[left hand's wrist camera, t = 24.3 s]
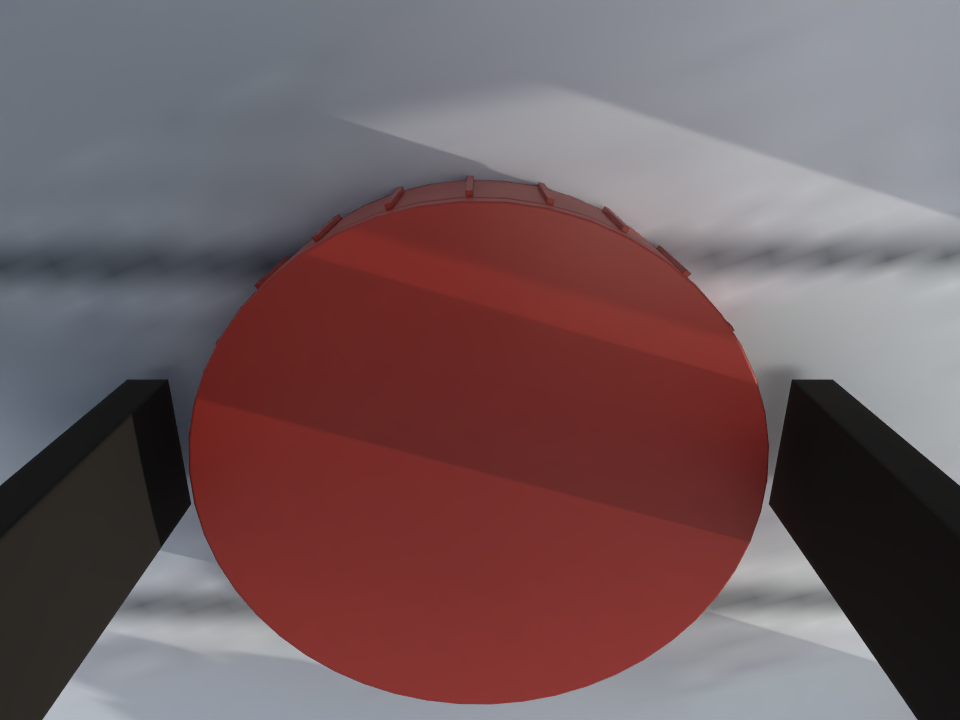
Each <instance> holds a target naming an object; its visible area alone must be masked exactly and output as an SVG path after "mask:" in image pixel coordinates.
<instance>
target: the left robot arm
mask: <svg viewBox="0 0 960 720" xmlns="http://www.w3.org/2000/svg"><path fill="white" fill-rule="evenodd" d="M190 505H191V501H190V496H189V490H188V485H187V479H186V474H185V469H184V463H183V458H182V452H181V447H180V442H179V436H178V431H177V425H176V420H175V415H174V409H173V404H172V398H171V393H170V388H169V382H168V380H126V381H125V382H124V383H123V384H122V385H120V386H119V387H118V388H117V389H116V390H114V391H113V392H112V393H111V394H110V395H108V396H107V397H106V398H105V399H104V400H102V401H101V402H100V403H99V404H98V405H96V406H95V407H94V408H93V409H92V410H90V411H89V412H88V413H87V414H86V415H84V416H83V417H82V418H81V419H80V420H78V421H77V422H76V423H75V424H74V425H72V426H71V427H70V428H69V429H68V430H66V431H65V432H64V433H63V434H62V435H60V436H59V437H58V438H57V439H56V440H54V441H53V442H52V443H51V444H50V445H48V446H47V447H46V448H45V449H44V450H43V451H41V452H40V453H39V454H38V455H37V456H35V457H34V458H33V459H32V460H31V461H29V462H28V463H27V464H26V465H25V466H23V467H22V468H21V469H20V470H19V471H17V472H16V473H15V474H14V475H13V476H11V477H10V478H9V479H8V480H7V481H5V482H4V483H3V484H2V485H1V486H0V720H42V719H43V718H44V717H45V715H46V714H47V712H48V711H49V709H50V708H51V706H52V705H53V704H54V702H55V701H56V699H57V698H58V696H59V695H60V693H61V692H62V690H63V689H64V688H65V686H66V685H67V683H68V682H69V680H70V679H71V677H72V676H73V675H74V673H75V672H76V670H77V669H78V667H79V666H80V664H81V663H82V661H83V660H84V659H85V657H86V656H87V654H88V653H89V651H90V650H91V648H92V647H93V646H94V644H95V643H96V641H97V640H98V638H99V637H100V635H101V634H102V632H103V631H104V630H105V628H106V627H107V625H108V624H109V622H110V621H111V619H112V618H113V617H114V615H115V614H116V612H117V611H118V609H119V608H120V606H121V605H122V603H123V602H124V601H125V599H126V598H127V596H128V595H129V593H130V592H131V590H132V589H133V587H134V586H135V585H136V583H137V582H138V580H139V579H140V577H141V576H142V574H143V573H144V572H145V570H146V569H147V567H148V566H149V564H150V563H151V561H152V560H153V558H154V557H155V556H156V554H157V553H158V551H159V550H160V548H161V547H162V545H163V544H164V543H165V541H166V540H167V538H168V537H169V535H170V534H171V532H172V531H173V529H174V528H175V527H176V525H177V524H178V522H179V521H180V519H181V518H182V516H183V515H184V514H185V512H186V511H187V509H188V508H189V506H190ZM769 505H770V506H771V508H772V509H773V511H774V512H775V514H776V515H777V516H778V518H779V519H780V521H781V522H782V524H783V525H784V527H785V528H786V530H787V531H788V532H789V534H790V535H791V537H792V538H793V540H794V541H795V543H796V544H797V545H798V547H799V548H800V550H801V551H802V553H803V554H804V556H805V557H806V559H807V560H808V561H809V563H810V564H811V566H812V567H813V569H814V570H815V572H816V573H817V574H818V576H819V577H820V579H821V580H822V582H823V583H824V585H825V586H826V588H827V589H828V590H829V592H830V593H831V595H832V596H833V598H834V599H835V601H836V602H837V603H838V605H839V606H840V608H841V609H842V611H843V612H844V614H845V615H846V617H847V618H848V619H849V621H850V622H851V624H852V625H853V627H854V628H855V630H856V631H857V632H858V634H859V635H860V637H861V638H862V640H863V641H864V643H865V644H866V646H867V647H868V648H869V650H870V651H871V653H872V654H873V656H874V657H875V659H876V660H877V661H878V663H879V664H880V666H881V667H882V669H883V670H884V672H885V673H886V675H887V676H888V677H889V679H890V680H891V682H892V683H893V685H894V686H895V688H896V689H897V690H898V692H899V693H900V695H901V696H902V698H903V699H904V701H905V702H906V704H907V705H908V706H909V708H910V709H911V711H912V712H913V714H914V715H915V717H916V718H917V719H918V720H960V486H959V485H958V484H957V483H956V482H955V481H953V480H952V479H951V478H950V477H949V476H947V475H946V474H945V473H944V472H943V471H941V470H940V469H939V468H938V467H937V466H935V465H934V464H933V463H932V462H931V461H929V460H928V459H927V458H926V457H925V456H923V455H922V454H921V453H920V452H919V451H917V450H916V449H915V448H914V447H913V446H911V445H910V444H909V443H908V442H907V441H905V440H904V439H903V438H902V437H901V436H900V435H898V434H897V433H896V432H895V431H894V430H892V429H891V428H890V427H889V426H888V425H886V424H885V423H884V422H883V421H882V420H880V419H879V418H878V417H877V416H876V415H874V414H873V413H872V412H871V411H870V410H868V409H867V408H866V407H865V406H864V405H862V404H861V403H860V402H859V401H858V400H856V399H855V398H854V397H853V396H852V395H850V394H849V393H848V392H847V391H846V390H844V389H843V388H842V387H841V386H840V385H838V384H837V383H836V382H835V381H834V380H792V382H791V388H790V393H789V398H788V404H787V409H786V415H785V420H784V425H783V431H782V436H781V441H780V447H779V452H778V458H777V463H776V468H775V474H774V479H773V485H772V490H771V495H770V501H769Z"/></svg>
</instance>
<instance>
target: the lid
mask: <svg viewBox="0 0 960 720" xmlns="http://www.w3.org/2000/svg"><path fill="white" fill-rule="evenodd" d="M690 274H691V273H690V272H689V271H688V270H687V269H686V268H685V267H684V266H682V265H681V264H680V263H679V262H678V261H677V260H676V259H675V258H673V257H672V256H671V255H670V254H669V253H668V252H667V251H666V250H664V249H663V248H662V247H661V246H660V245H659V246H658V247H657V248H655V247H654V246H652V245H651V244H650V243H649V242H648V241H647V240H645V239H644V238H643V237H642V236H641V235H639V234H638V233H637V232H636V231H635V230H634V229H632V228H630V227H629V226H627V225H626V224H625V223H624V222H623V221H622V220H621V219H620V218H618V217H617V216H616V215H615V214H614V213H613V212H612V211H611V210H610V209H609V208H607V207H604V208H603V210H601V209H599V208H596V207H594V206H592V205H590V204H588V203H585V202H583V201H581V200H579V199H576V198H574V197H572V196H569V195H565V194H562V193H558V192H555V191H552V190H548V189H547V187H546V185H545V184H544V183H540V182H539V183H538V186H532V185H525V184H519V183H512V182H505V181H478V180H474V177H473V176H467V180H463V181H455V182H446V183H438V184H429V185H425V186H421V187H417V188H413V189H410V190H406V191H404V189H403V187H399V188H397V189H396V190H395V191H394V193H393V194H392V195H389V196H387V197H384V198H382V199H379V200H377V201H374V202H372V203H370V204H367V205H365V206H362V207H360V208H358V209H357V210H355V211H353V212H352V213H350V214H348V215H346V216H345V217H343V218H341V216H340V215H339V214H338V215H337V216H335V217H334V218H333V219H332V220H330V221H329V222H328V223H327V224H326V225H325V226H324V227H323V228H322V229H321V230H319V231H318V232H317V233H316V234H315V235H314V236H313V237H312V240H311V241H309V242H308V243H307V244H306V245H304V246H303V247H302V248H301V249H300V250H299V251H298V252H297V253H296V254H294V255H293V256H292V257H291V258H289V257H288V256H286V257H285V258H284V259H283V260H282V261H281V262H280V263H279V264H277V265H276V266H275V267H274V268H273V269H272V270H271V271H270V272H268V273H267V274H266V275H265V276H264V277H263V278H262V279H261V280H259V281H258V282H257V283H256V285H255V287H256V288H257V289H258V290H257V291H256V292H255V293H254V294H253V295H252V296H251V297H250V298H249V299H248V300H247V301H246V303H245V304H244V305H243V306H242V307H241V308H240V309H239V311H238V312H237V314H236V315H235V317H234V318H233V320H232V321H231V322H230V324H229V325H228V327H227V328H226V330H225V331H224V333H223V334H222V335H221V337H220V338H219V339H218V340H217V342H216V347H215V349H214V351H213V353H212V355H211V357H210V359H209V361H208V363H207V365H206V367H205V369H204V372H203V375H202V378H201V382H200V385H199V388H198V391H197V395H196V398H195V401H194V405H193V412H192V419H191V426H190V433H189V474H190V480H191V486H192V492H193V498H194V504H195V507H196V511H197V514H198V517H199V520H200V523H201V526H202V529H203V532H204V535H205V538H206V540H207V542H208V544H209V546H210V548H211V550H212V552H213V554H214V556H215V558H216V560H217V562H218V564H219V566H220V567H221V569H222V570H223V572H224V573H225V575H226V577H227V578H228V580H229V581H230V583H231V584H232V586H233V587H234V589H235V590H236V591H237V593H238V594H239V595H240V596H241V597H242V598H243V600H244V601H245V602H246V603H247V604H248V605H249V607H250V608H251V609H252V610H253V611H254V612H255V614H256V615H257V616H258V617H259V618H261V619H262V620H263V621H264V622H265V623H266V624H267V625H268V626H269V627H270V628H272V629H273V630H274V631H275V632H276V633H277V634H278V635H279V636H280V637H282V638H283V639H284V640H286V641H287V642H289V643H290V644H291V645H293V646H294V647H296V648H297V649H298V650H300V651H301V652H302V653H304V654H305V655H307V656H308V657H310V658H312V659H314V660H316V661H317V662H319V663H321V664H323V665H324V666H326V667H328V668H330V669H331V670H333V671H335V672H337V673H340V674H342V675H344V676H347V677H349V678H351V679H354V680H356V681H358V682H361V683H363V684H366V685H369V686H372V687H375V688H378V689H381V690H385V691H388V692H391V693H394V694H398V695H403V696H408V697H413V698H418V699H422V700H428V701H437V702H446V703H455V704H500V703H512V702H523V701H529V700H534V699H540V698H545V697H550V696H556V695H559V694H563V693H566V692H569V691H573V690H576V689H580V688H583V687H587V686H589V685H592V684H594V683H596V682H599V681H601V680H604V679H606V678H609V677H611V676H614V675H616V674H618V673H620V672H622V671H624V670H626V669H628V668H629V667H631V666H633V665H635V664H637V663H639V662H641V661H643V660H644V659H646V658H647V657H649V656H650V655H652V654H653V653H655V652H656V651H658V650H659V649H661V648H662V647H664V646H665V645H666V644H668V643H669V642H671V641H672V640H673V639H674V638H676V637H677V636H678V635H679V634H680V633H681V632H682V631H684V630H685V629H686V628H687V627H688V626H689V625H691V624H692V623H693V622H694V621H695V620H696V619H697V618H698V617H699V616H700V615H701V614H702V613H703V611H704V610H705V609H706V608H707V607H708V606H709V605H710V604H711V603H712V602H713V600H714V599H715V598H716V597H717V596H718V594H719V593H720V592H721V590H722V589H723V587H724V586H725V585H726V583H727V582H728V580H729V579H730V577H731V576H732V575H733V573H734V572H735V570H736V568H737V566H738V564H739V562H740V561H741V559H742V557H743V555H744V553H745V551H746V549H747V547H748V545H749V543H750V541H751V538H752V535H753V533H754V530H755V527H756V524H757V521H758V518H759V516H760V513H761V509H762V504H763V499H764V494H765V489H766V484H767V474H768V453H769V443H768V433H767V424H766V415H765V409H764V406H763V402H762V398H761V394H760V391H759V387H758V383H757V380H756V377H755V375H754V372H753V370H752V368H751V366H750V363H749V361H748V359H747V357H746V354H745V352H744V350H743V348H742V345H741V344H740V342H739V341H738V339H737V338H736V336H735V334H734V333H733V331H734V329H733V327H732V325H731V324H730V323H728V322H727V321H726V320H725V319H724V317H723V316H722V314H721V313H720V312H719V311H718V310H717V309H716V307H715V306H714V305H713V304H712V303H711V302H710V301H709V299H708V298H707V297H706V296H705V295H704V294H703V293H702V292H701V290H700V289H699V288H698V287H697V286H696V285H695V284H694V283H693V282H692V281H691V280H690V279H689V278H688V276H689V275H690Z"/></svg>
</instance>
